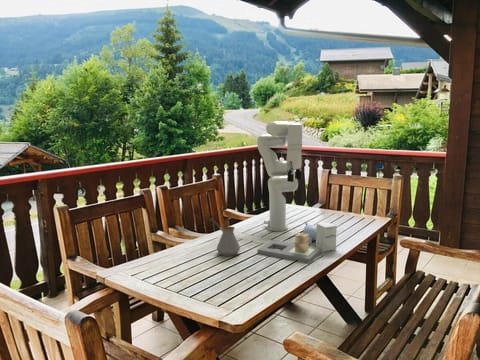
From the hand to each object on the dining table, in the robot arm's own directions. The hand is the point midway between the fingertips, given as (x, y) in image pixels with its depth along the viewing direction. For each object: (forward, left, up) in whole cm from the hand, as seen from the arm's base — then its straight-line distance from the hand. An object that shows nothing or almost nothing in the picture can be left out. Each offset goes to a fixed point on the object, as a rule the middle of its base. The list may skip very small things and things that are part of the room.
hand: (294, 180), depth 216 cm
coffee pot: (-25, -31, -34) cm, 52 cm away
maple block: (+12, -18, -31) cm, 38 cm away
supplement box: (+19, -3, -34) cm, 39 cm away
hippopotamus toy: (+9, +5, -34) cm, 35 cm away
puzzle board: (+6, -18, -33) cm, 38 cm away
